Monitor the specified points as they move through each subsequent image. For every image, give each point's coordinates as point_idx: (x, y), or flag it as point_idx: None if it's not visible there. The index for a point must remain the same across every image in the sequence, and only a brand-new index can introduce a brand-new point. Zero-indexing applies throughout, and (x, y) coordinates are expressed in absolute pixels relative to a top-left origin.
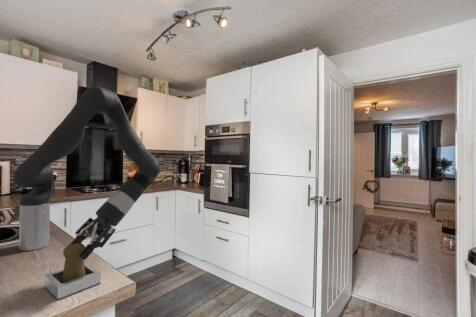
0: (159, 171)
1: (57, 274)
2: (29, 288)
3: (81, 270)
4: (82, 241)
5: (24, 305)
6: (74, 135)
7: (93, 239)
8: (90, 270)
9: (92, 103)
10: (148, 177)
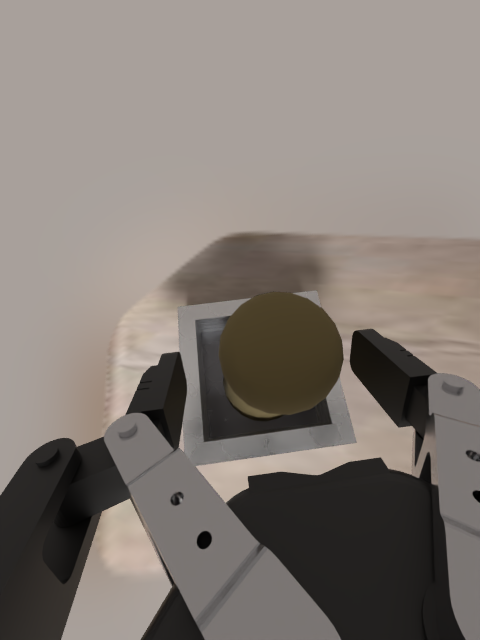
0: None
1: None
2: (323, 278)
3: (233, 393)
4: (397, 425)
5: (226, 262)
6: None
7: (116, 453)
8: (244, 436)
9: None
10: None
